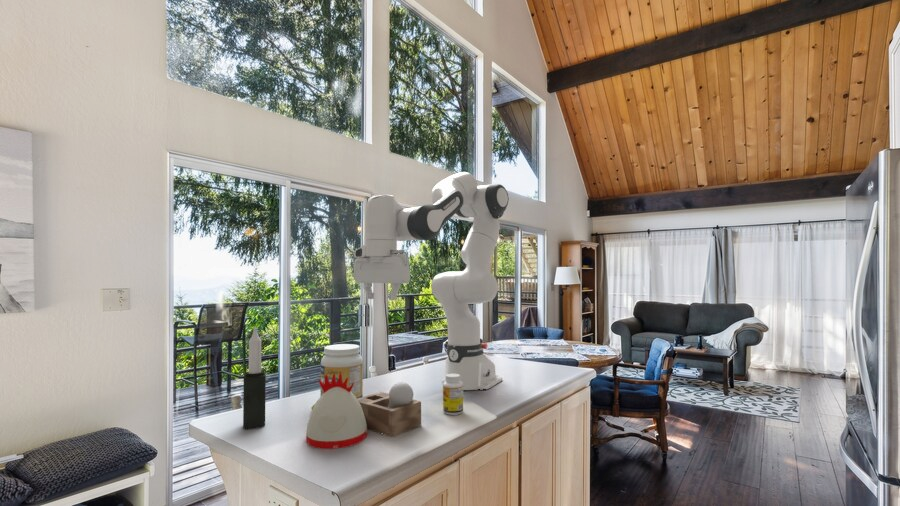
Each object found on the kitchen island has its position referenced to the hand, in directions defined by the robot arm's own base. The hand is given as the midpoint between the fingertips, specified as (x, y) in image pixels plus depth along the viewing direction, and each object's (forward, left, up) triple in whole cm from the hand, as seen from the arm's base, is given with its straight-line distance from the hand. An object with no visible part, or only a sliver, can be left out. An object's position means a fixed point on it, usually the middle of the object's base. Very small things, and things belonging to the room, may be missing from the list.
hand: (381, 299), depth 125 cm
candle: (+28, -17, -31) cm, 45 cm away
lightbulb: (+7, +9, -30) cm, 33 cm away
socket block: (+7, +9, -31) cm, 33 cm away
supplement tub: (+3, -14, -31) cm, 34 cm away
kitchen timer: (+20, +6, -31) cm, 38 cm away
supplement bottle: (-11, +17, -31) cm, 37 cm away
